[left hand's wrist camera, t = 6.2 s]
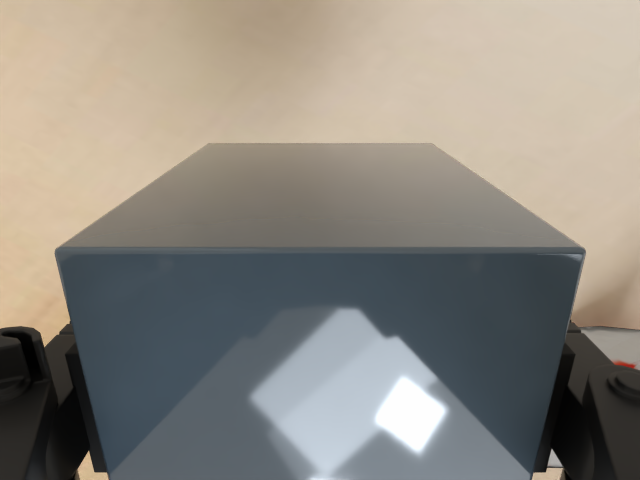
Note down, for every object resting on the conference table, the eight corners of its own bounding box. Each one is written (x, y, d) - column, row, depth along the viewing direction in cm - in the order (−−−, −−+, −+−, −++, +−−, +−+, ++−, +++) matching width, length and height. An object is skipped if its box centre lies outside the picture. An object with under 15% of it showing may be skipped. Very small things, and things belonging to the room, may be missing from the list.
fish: (578, 544, 31) (699, 646, 21) (440, 359, 33) (492, 376, 24) (686, 448, 33) (847, 503, 23) (546, 276, 35) (637, 259, 25)
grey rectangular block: (206, 142, 14) (49, 249, 6) (433, 142, 14) (590, 249, 6) (224, 337, 17) (134, 595, 8) (415, 337, 17) (505, 595, 8)
